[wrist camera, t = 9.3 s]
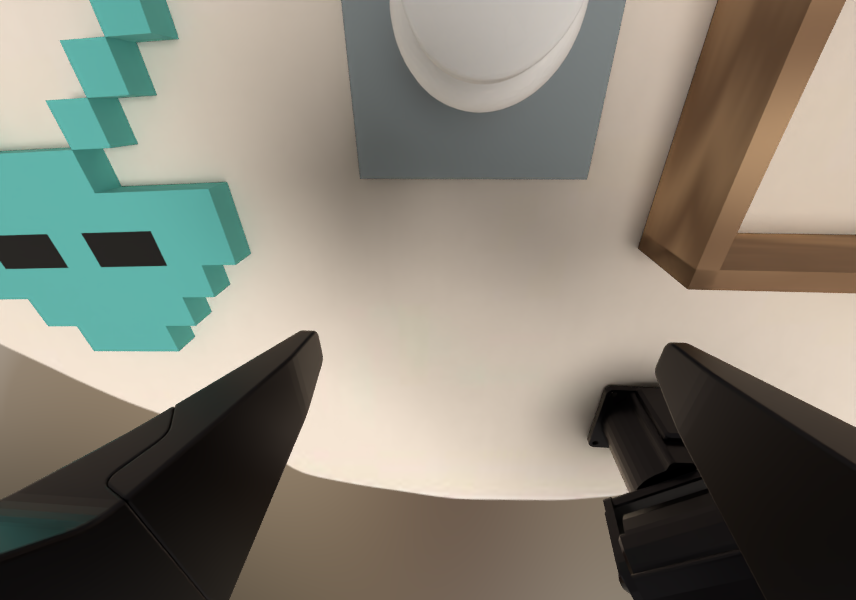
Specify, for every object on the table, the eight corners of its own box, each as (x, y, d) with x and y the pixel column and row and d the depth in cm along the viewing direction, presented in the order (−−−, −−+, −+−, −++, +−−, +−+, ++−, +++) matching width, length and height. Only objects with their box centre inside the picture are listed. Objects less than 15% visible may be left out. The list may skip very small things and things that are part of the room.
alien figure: (-199, 15, 17) (43, 333, 28) (-279, 5, 16) (12, 350, 26) (165, -20, 16) (281, 332, 26) (126, -36, 14) (267, 351, 24)
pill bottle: (563, -14, 14) (721, -176, 6) (506, 125, 17) (556, 153, 8) (438, -70, 14) (409, -342, 5) (400, 83, 16) (340, 68, 8)
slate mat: (583, 177, 18) (587, 179, 18) (362, 176, 19) (360, 178, 19) (657, -174, 12) (666, -185, 12) (329, -154, 13) (323, -164, 12)
